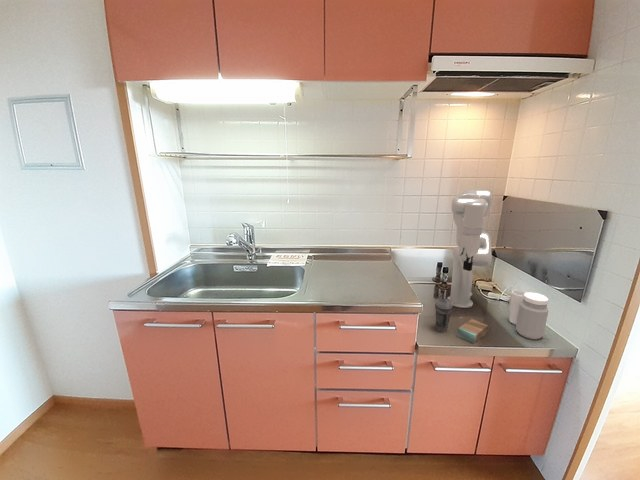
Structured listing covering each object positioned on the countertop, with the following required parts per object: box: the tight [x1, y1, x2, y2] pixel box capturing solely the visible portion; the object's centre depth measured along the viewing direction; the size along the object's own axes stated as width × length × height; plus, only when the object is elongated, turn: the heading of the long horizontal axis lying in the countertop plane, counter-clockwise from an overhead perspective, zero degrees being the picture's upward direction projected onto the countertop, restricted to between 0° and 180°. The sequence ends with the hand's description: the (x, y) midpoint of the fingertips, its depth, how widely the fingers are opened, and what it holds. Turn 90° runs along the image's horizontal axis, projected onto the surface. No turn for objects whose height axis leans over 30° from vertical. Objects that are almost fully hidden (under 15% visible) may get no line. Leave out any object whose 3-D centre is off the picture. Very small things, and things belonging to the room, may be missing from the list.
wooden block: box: [457, 318, 489, 344], centre depth 120 cm, size 4×7×12 cm
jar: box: [515, 291, 549, 340], centre depth 117 cm, size 10×10×18 cm
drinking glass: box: [508, 289, 527, 325], centre depth 127 cm, size 7×7×15 cm
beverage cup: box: [434, 289, 454, 333], centre depth 123 cm, size 7×7×20 cm
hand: (467, 269), depth 123 cm, fingers closed
